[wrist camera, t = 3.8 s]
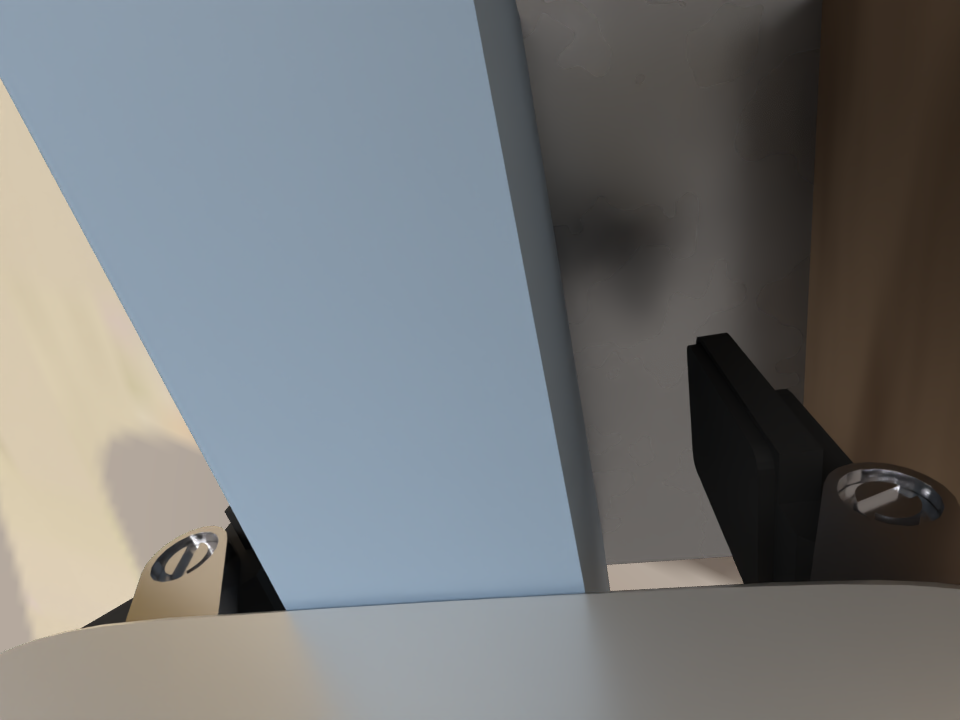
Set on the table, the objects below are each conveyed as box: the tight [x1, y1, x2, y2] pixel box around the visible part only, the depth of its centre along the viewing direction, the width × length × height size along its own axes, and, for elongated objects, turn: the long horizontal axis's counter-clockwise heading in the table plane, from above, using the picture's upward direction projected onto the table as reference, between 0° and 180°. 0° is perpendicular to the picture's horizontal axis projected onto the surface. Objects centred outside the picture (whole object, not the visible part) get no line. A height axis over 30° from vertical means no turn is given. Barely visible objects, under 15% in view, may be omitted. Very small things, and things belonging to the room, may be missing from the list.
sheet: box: [0, 0, 610, 611], centre depth 10 cm, size 2×16×11 cm, turn 13°
